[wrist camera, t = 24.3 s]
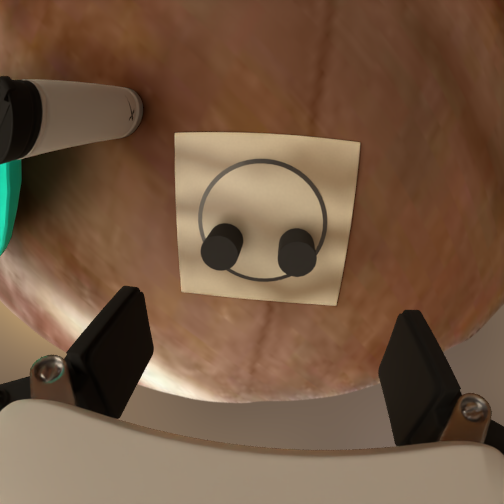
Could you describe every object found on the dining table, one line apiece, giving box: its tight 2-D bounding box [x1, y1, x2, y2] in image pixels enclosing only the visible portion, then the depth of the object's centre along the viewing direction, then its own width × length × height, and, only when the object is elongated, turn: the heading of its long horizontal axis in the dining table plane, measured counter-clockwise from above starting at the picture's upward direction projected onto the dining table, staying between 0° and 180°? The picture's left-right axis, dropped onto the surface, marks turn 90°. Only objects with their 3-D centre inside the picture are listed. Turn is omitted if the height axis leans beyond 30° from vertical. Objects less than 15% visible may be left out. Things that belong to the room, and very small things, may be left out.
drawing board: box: [175, 132, 360, 306], centre depth 34 cm, size 20×20×1 cm
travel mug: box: [0, 76, 143, 164], centre depth 21 cm, size 6×7×20 cm
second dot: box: [278, 228, 317, 277], centre depth 33 cm, size 4×4×4 cm
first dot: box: [200, 223, 243, 271], centre depth 33 cm, size 4×4×4 cm
